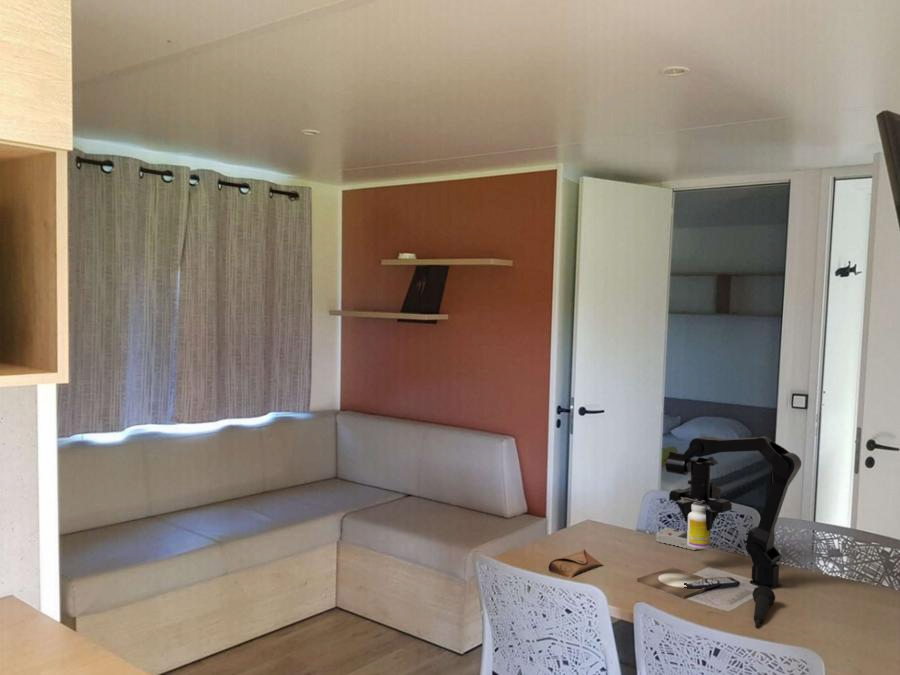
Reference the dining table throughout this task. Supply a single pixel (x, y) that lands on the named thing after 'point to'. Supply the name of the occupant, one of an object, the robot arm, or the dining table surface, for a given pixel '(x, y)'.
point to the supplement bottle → (698, 528)
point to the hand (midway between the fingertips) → (698, 527)
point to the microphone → (762, 603)
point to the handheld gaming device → (673, 537)
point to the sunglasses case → (573, 564)
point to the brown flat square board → (672, 582)
